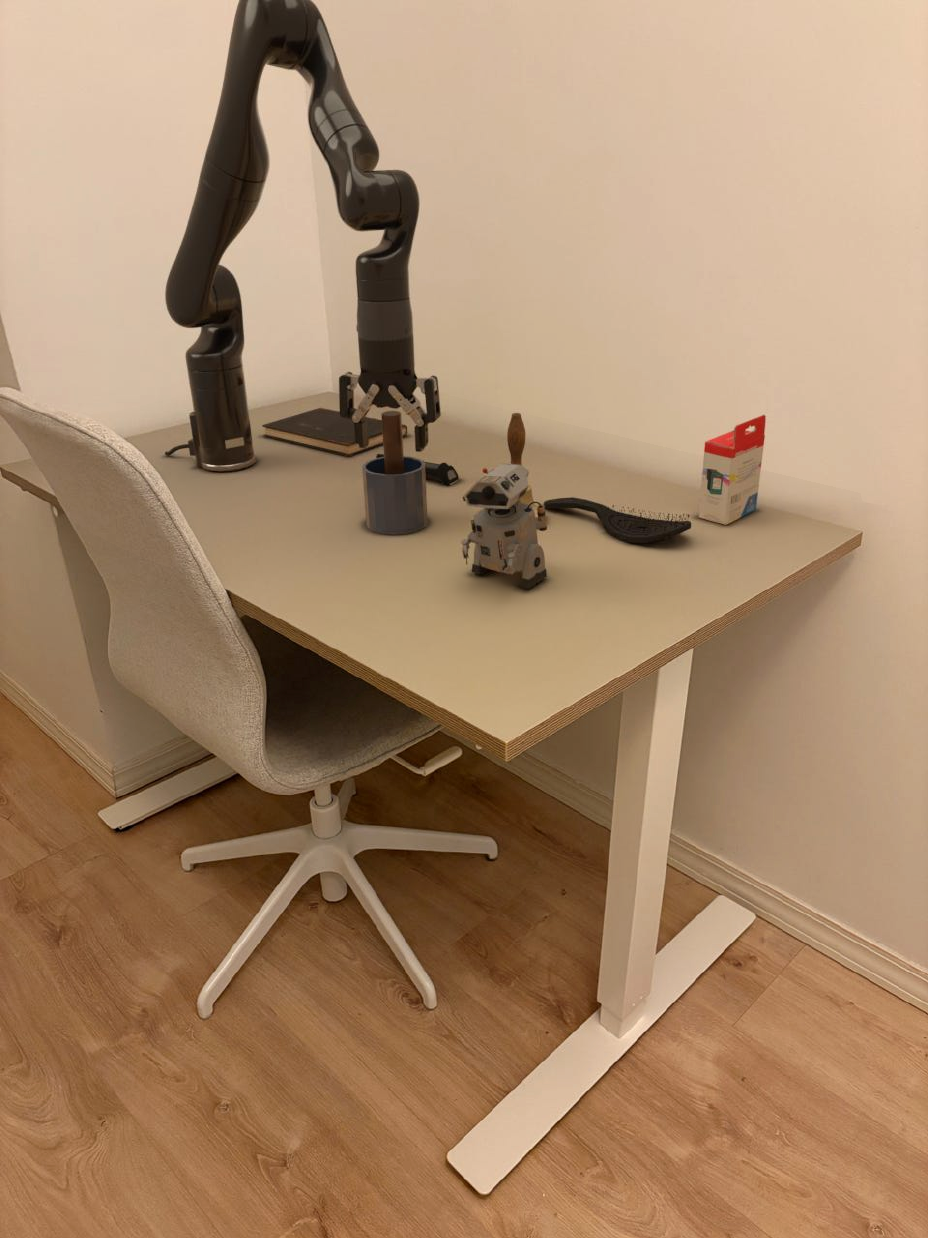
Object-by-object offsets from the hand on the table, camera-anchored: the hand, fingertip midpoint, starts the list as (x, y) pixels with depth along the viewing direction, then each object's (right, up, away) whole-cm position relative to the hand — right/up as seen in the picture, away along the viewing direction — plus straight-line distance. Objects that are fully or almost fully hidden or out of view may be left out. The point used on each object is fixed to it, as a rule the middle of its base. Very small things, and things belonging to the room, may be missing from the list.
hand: (391, 448), depth 139 cm
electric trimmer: (+2, -1, +24) cm, 25 cm away
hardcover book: (-14, +10, +47) cm, 50 cm away
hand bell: (+18, -10, +5) cm, 21 cm away
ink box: (+49, -9, +5) cm, 50 cm away
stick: (0, -10, +5) cm, 11 cm away
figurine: (+15, -20, -14) cm, 29 cm away
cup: (0, -10, +5) cm, 12 cm away
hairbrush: (+32, -11, +3) cm, 34 cm away
